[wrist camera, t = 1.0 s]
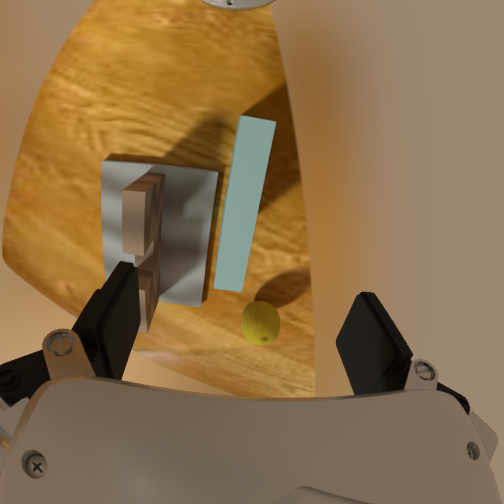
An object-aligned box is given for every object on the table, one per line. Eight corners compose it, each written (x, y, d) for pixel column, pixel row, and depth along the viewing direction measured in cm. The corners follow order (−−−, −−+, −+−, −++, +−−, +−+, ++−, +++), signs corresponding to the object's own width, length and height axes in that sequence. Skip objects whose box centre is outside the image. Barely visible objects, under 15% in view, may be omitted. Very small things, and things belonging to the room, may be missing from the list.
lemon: (233, 300, 42) (233, 338, 34) (265, 284, 40) (271, 321, 33) (252, 323, 44) (255, 360, 37) (282, 308, 43) (290, 345, 36)
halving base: (105, 159, 30) (69, 176, 23) (218, 170, 32) (212, 190, 25) (109, 288, 39) (88, 326, 32) (201, 303, 41) (195, 346, 34)
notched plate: (239, 116, 29) (241, 115, 17) (259, 119, 30) (276, 121, 17) (221, 225, 36) (213, 288, 23) (239, 227, 36) (241, 291, 24)
